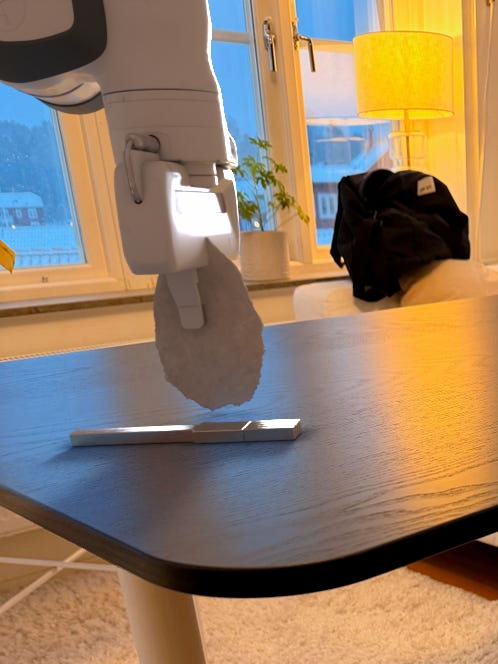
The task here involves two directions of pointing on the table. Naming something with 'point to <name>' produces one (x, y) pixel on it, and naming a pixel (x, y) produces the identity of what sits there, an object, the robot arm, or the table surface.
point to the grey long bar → (191, 433)
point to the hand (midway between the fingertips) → (201, 325)
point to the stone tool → (211, 337)
